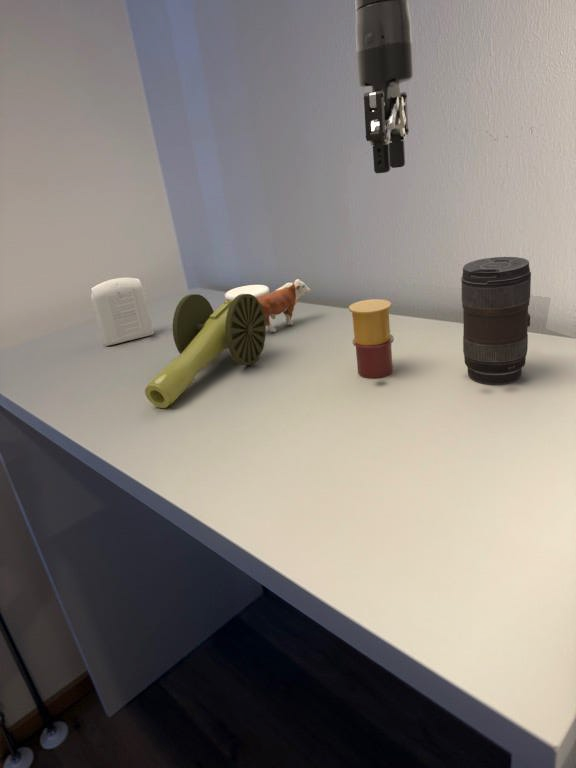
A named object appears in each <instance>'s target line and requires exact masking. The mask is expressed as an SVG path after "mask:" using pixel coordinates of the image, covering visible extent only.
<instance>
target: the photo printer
mask: <svg viewBox="0 0 576 768" xmlns="http://www.w3.org/2000/svg"><path fill="white" fill-rule="evenodd" d="M90 292H91V293H90V300H91V304H92V307H93V310H94V314H95V318H96V322H97V325H98V329H99V332H100V336H101V340H102V343H103V345H104V346H107V347H109V346H113V345H116V344H121V343H125V342H128V341H132V340H133V341H134V340H137V339H141V338H145V337H149V336H153V335H154V334H155V331H154V327H153V322H152V318H151V314H150V310H149V306H148V301H147V297H146V296H147V295H146V293H145V289H144V286H143V284H142V283H141V280H140V279H139V278H136V277H116V278H111V279H108V280H105V281H102V282H101V283H98V284H96V285H95V286H93V287H91V288H90Z"/></svg>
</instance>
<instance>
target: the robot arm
mask: <svg viewBox="0 0 576 768" xmlns="http://www.w3.org/2000/svg"><path fill="white" fill-rule="evenodd" d="M354 4H355V42H356V43H355V44H356V45H355V46H356V57H357V72H358V85H359V87H360V88H362V89H370V88H371V92H370V91H369V92H364V94H363V105H364V107H363V108H364V125H365V140H366V142H369V143H370V146H372V157H373V172H374V173H375V174H385V173H389V172H390V171H391V169H397V168H404V166H405V165H406V154H405V153H406V151H405V150H406V149H405V140H406V139H407V135H408V136H409V132H410V128H409V116H408V115H409V114H408V94H407V92H406V91H402V92H401V89H400V84H401V83H405V82H409V81H411V80H412V79H413V76H414V74H413V73H414V71H413V42H412V39H413V38H412V18H411V13H410V6H409V0H354Z"/></svg>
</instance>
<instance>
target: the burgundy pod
mask: <svg viewBox="0 0 576 768" xmlns="http://www.w3.org/2000/svg"><path fill="white" fill-rule="evenodd" d="M394 340H395V339H394V335H392V334H391V333H390V340H389V341H387V342H385V343H383V344H379V345H372V346H366V345H359V344H357V343H356V342H355V338H354V337H353V338H352V340H351V341H352V345H353V346H354V347H355V353H356V366H357V374H358V375H359V376H360V377H362V378H366V379H381V378H385V377H388V376H390V375H391V374H392V373H393V371H394V370H393V353H392V352H393V351H392V343H394Z"/></svg>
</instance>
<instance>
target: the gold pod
mask: <svg viewBox="0 0 576 768" xmlns="http://www.w3.org/2000/svg"><path fill="white" fill-rule="evenodd" d="M391 307H392V303H391V301H389V300H387V299H378V298H377V299H374V298H373V299H371V298H370V299H364V300H360V301H356V302H353V303H351V304H350V305H349V306H348V311H349V312H350V313H352V314H351V315H352V326H353V339H354V338H355V342H356V343H357V344H359V345H366V346H372V345H379V344H383V343H385V342H387V341H389V340H390V334H391V328H390V327H391V326H390V309H391Z"/></svg>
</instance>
